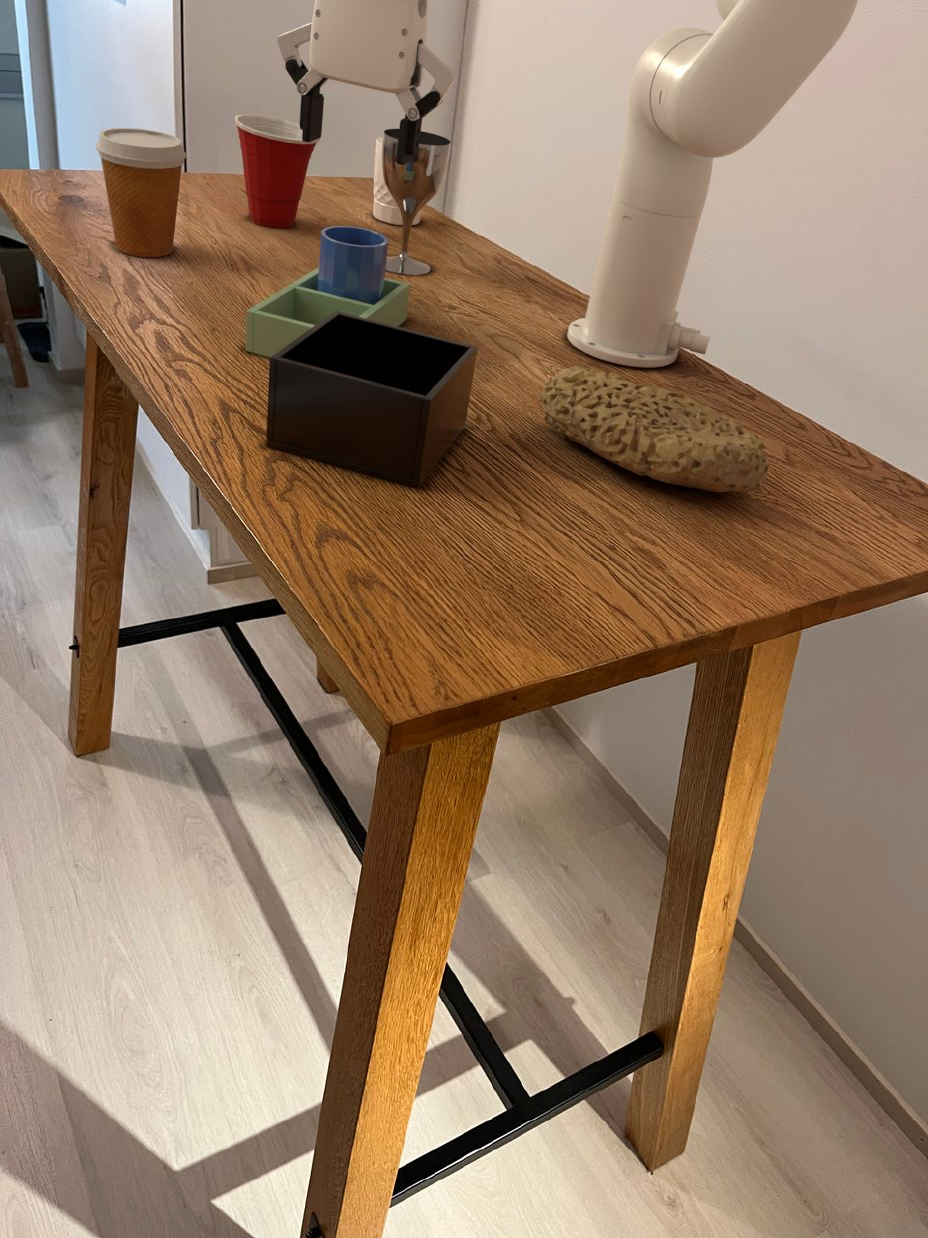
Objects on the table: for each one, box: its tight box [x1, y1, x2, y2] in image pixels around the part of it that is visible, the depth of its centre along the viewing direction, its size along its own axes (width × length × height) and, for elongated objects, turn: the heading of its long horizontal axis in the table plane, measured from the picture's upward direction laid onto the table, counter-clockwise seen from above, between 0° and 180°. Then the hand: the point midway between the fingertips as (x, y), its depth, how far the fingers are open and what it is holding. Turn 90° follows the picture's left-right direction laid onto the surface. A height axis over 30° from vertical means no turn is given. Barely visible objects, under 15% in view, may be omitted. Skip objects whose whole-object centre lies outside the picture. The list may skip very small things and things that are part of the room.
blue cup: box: [317, 225, 389, 305], centre depth 106 cm, size 7×7×9 cm
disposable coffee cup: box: [95, 127, 187, 258], centre depth 115 cm, size 10×10×12 cm
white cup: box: [372, 136, 423, 226], centre depth 142 cm, size 8×8×10 cm
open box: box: [265, 311, 479, 489], centre depth 85 cm, size 13×13×8 cm
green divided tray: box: [245, 266, 411, 358], centre depth 104 cm, size 10×19×4 cm, turn 163°
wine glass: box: [382, 128, 451, 276], centre depth 124 cm, size 8×8×15 cm
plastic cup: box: [234, 113, 321, 228], centre depth 131 cm, size 11×11×12 cm
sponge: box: [540, 365, 771, 493], centre depth 89 cm, size 13×8×20 cm
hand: (357, 150), depth 99 cm, fingers open, 9 cm apart
